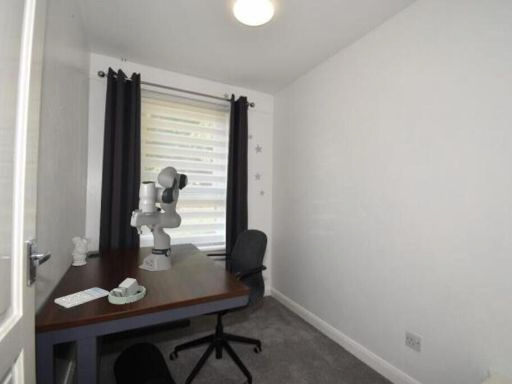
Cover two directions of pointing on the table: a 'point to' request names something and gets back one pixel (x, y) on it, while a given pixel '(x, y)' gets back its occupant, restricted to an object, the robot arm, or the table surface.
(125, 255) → the table surface
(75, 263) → the cherub figurine
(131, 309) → the table surface
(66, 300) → the calculator
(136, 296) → the faceted green bowl
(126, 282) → the security camera
